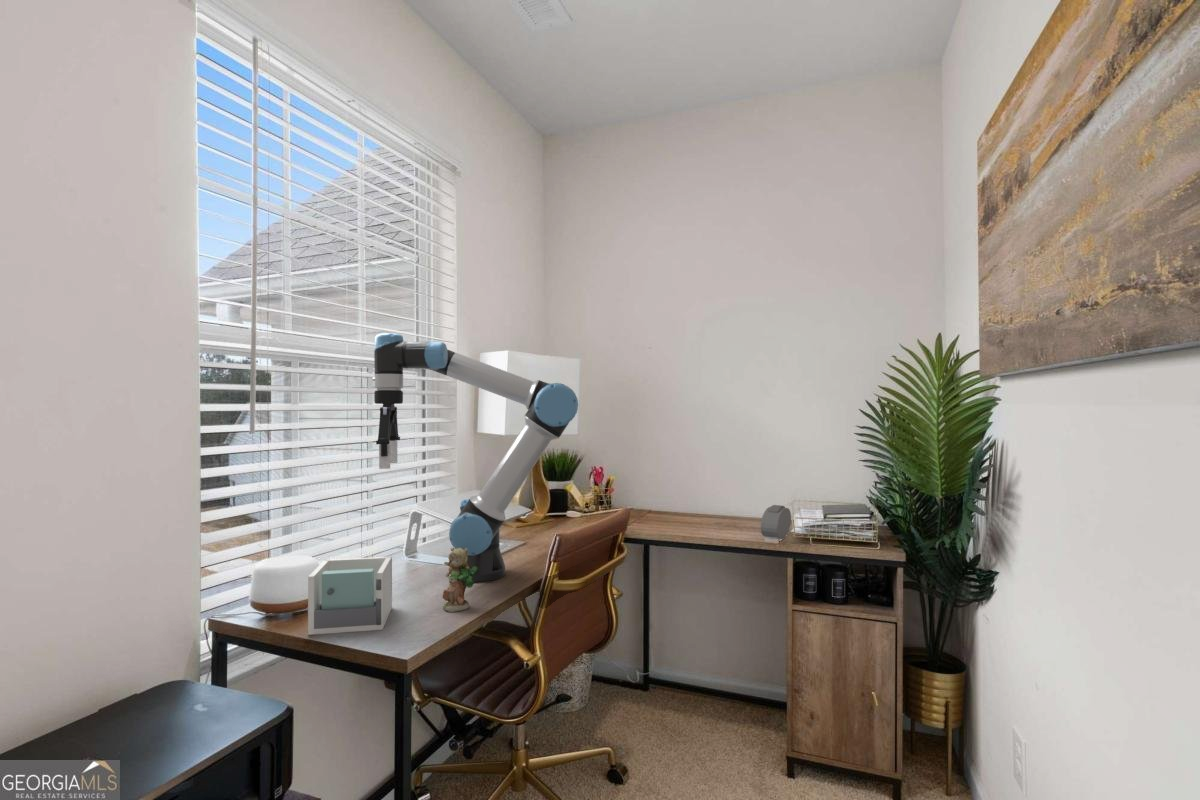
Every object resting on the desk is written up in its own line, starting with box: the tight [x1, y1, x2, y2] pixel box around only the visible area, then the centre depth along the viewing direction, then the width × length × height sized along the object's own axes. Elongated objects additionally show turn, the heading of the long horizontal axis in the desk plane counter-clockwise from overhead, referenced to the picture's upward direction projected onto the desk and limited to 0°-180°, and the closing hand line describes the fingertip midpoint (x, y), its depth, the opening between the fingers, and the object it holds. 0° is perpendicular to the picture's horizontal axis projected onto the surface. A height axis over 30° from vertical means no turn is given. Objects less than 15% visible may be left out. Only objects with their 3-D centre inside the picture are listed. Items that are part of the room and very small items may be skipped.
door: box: [322, 569, 374, 610], centre depth 138 cm, size 11×4×12 cm, turn 101°
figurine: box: [442, 547, 478, 613], centre depth 152 cm, size 9×8×15 cm
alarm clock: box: [759, 504, 792, 542], centre depth 227 cm, size 23×6×13 cm, turn 150°
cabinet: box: [307, 555, 393, 636], centre depth 143 cm, size 16×15×13 cm
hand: (388, 465), depth 166 cm, fingers open, 13 cm apart
